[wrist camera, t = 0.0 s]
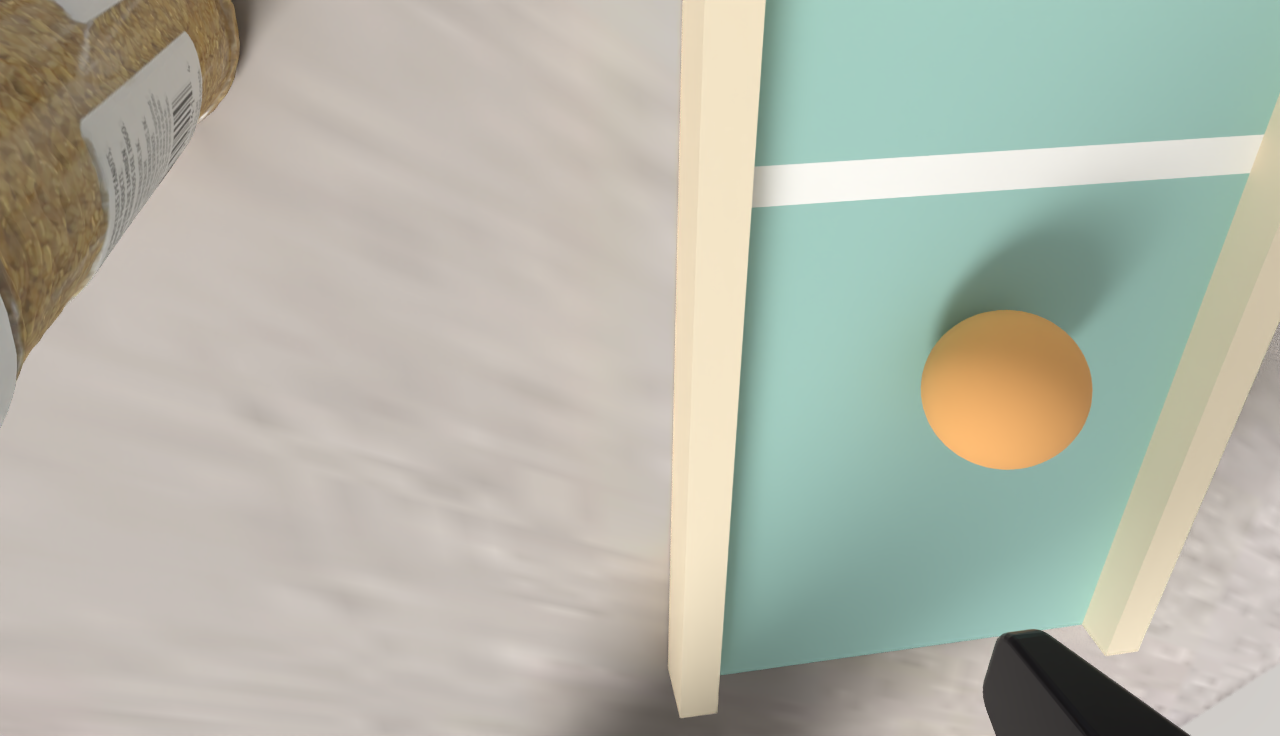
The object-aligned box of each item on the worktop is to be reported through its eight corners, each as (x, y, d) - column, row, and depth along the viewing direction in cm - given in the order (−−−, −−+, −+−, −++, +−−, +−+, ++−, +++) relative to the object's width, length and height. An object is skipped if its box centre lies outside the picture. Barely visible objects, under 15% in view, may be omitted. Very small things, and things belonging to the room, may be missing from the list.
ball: (1020, 402, 26) (1101, 493, 23) (886, 416, 26) (949, 511, 22) (1054, 276, 24) (1149, 356, 21) (908, 288, 24) (982, 373, 20)
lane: (1103, 607, 33) (1175, 700, 30) (667, 667, 31) (693, 775, 27) (1446, -286, 19) (1658, -299, 16) (688, -292, 17) (747, -308, 13)
